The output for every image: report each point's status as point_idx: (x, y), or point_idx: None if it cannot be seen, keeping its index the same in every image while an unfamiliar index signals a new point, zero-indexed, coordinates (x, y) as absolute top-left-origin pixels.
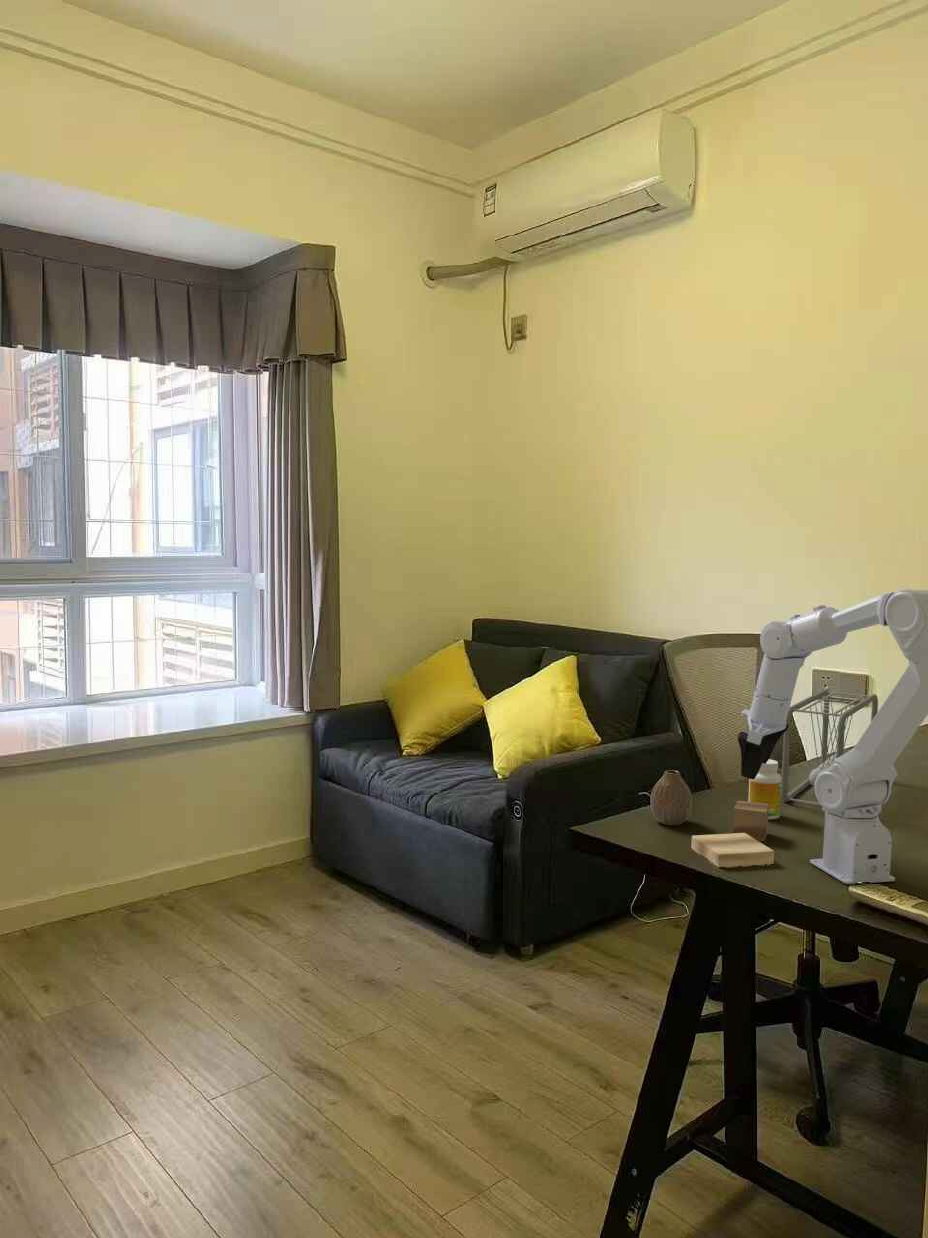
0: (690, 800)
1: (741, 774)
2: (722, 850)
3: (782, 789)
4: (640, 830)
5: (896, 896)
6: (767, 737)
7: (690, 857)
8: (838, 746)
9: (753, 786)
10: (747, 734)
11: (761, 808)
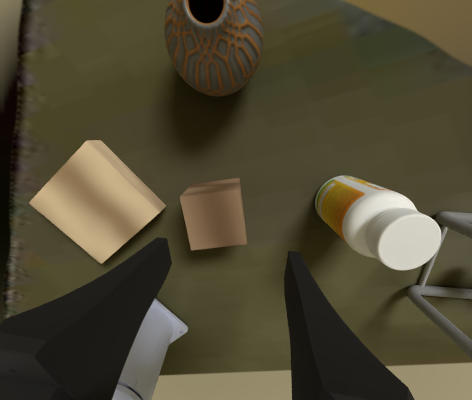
0: (212, 92)
1: (155, 239)
2: (50, 203)
3: (449, 221)
4: (135, 20)
5: None
6: (297, 356)
7: (59, 151)
8: None
9: (346, 201)
10: (40, 374)
11: (209, 239)
